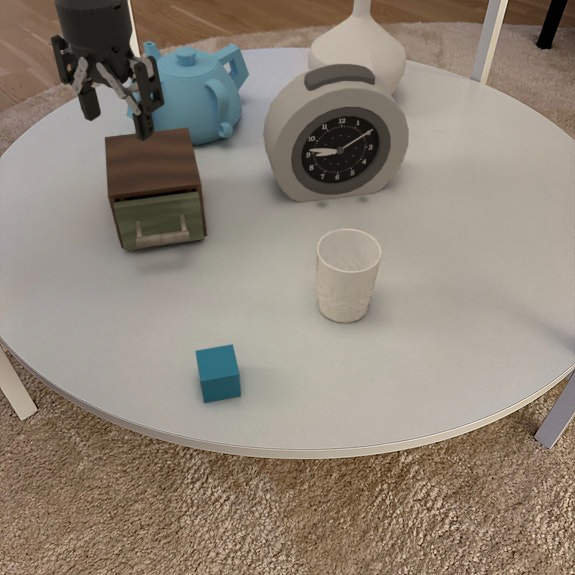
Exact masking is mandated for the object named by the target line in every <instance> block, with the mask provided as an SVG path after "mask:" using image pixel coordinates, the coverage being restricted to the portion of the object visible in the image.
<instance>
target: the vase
mask: <svg viewBox="0 0 575 575" xmlns="http://www.w3.org/2000/svg"><path fill="white" fill-rule="evenodd" d="M371 4H372V0H353V7H352V13H351V14H350V16H348V17H347V18H346V19H345V20H343V21H342V22H340V23H339V24H337V25H336V26H335V27H333V28H331V29H330V30H328V31H326V32H324V33H322V34H321V35H320V36H318V37H316V39H315V40H313V42H312V44H311V45H310V47H309V51H308V54H307V69H308V71H309V70H311V69H313V68H315V67H320V66H325V65H329V64H354V65H360V66H364V67H367V68H368V69H370V70H371V71H372V73H373V74H374V75H376V76H377V77H378V78H380V79H381V80H382V82H383V83H384V85H385V86H386V88H387V89H388V90H389V92H390V93H391V95H392V94H393V93H394V91H395V90H396V88H397V87H398V85H399V84H400V81H402V79H403V77H404V75H405V71H406V66H407V54H406V50H405V48H404V46H403V44H402V43H401V42H399V40H397V39H396V38H395V37H393V35H392V34H390V33H389V32H388V31H387V30H385V29H384V27H382V26H381V25H380V24H378V22H377V21H375V20H374V18H373V16H372V15H371Z"/></svg>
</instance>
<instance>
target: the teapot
mask: <svg viewBox="0 0 575 575" xmlns="http://www.w3.org/2000/svg"><path fill="white" fill-rule="evenodd" d="M142 46H143V51H144V54H145V58H146V57H148V56H150V55H151V56H153V57H154V58H155V59H156V62H157V67H158V72H159V77H160V82H161V87H162V92H163V97H164V102H165V103H164V105H163V106H162V107H160V108H158V109H157V110H155V111H154V112H153V113H152V118H153V124H154V131H162V130H170V129H179V128H189V132H190V136H191V141H192V145H193V146H194V145H195V146H196V145H203V144H207V143H210V142H214V141H217V140H219V139H221V138H222V139H228V138H231V137H232V136H233V134H234V127H235V125H236V124H237V123H238V122H239V121H240V117H241V116H242V110H243V109H242V101H241V96H240V94H239V91H240V89H241V88H242V86H243V85H244V83H245V82H246V80H247V78H249V76H250V73H249V70H248V67H247V65H246V62H245V58H244V56H243V54H242V51H241V48H240V47H238V46H237V45H235V44H234V43H230V44H228V45H226V46H224V47H222V48H221V49H219V50H217V51H215V52H214V53H210V52H207V51H204V50H201V49H197V48H195V47H192V46H181V47H178V48H176V49H175V50H174V51H171V52H168V53H166V54H162V53H161V51H160V50H159V49H158V47H157V44H156V43H154V42H153V41H151V40H150V41H146V42H143V43H142ZM226 64H228V65H229V68H230V71H229V72H228V70H227V69H226V68H225V67H224V66H225V65H226ZM131 85H132V81H131V80H130V81H129V86H131ZM133 96H134V97H135V99H136V100H137V102H139V101H141V99H140V98H139V96H138V95H137V93H136V92H133ZM151 98H153V94H152V93H151ZM132 113H134V112H133V111H132V109H131V108H130V107H129V105H128V104H127V110H126V117H128V118H129V119H131V120H133V116H132Z"/></svg>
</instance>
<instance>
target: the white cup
mask: <svg viewBox="0 0 575 575" xmlns="http://www.w3.org/2000/svg"><path fill="white" fill-rule="evenodd" d="M382 255H383V251H382V247H381V245H380V243H379V241H378V240H377V239H376V238H375V237H374V236H372V235H371V234H369V233H368V232H365V231H363V230H360V229H355V228H339V229H338V228H337V229H333V230H331V231H329V232H327V233H325V234H324V235H323V236H322V237H321V238H320V239H319V240H318V242H317V245H316V293H317V305H318V310H319V311H320V313H322V314H323V316H324V317H325V318H326V319H329V320H331V321H333V322H336V323H343V324H345V323H346V324H349V323H352V322H355V321H356V322H357V321H359V320H360V319H361V318H362V317H364V316H365V315H366V314H367V312H368V307H369V304H370V300H371V298H372V297H373V291H374V288H375V284H376V280H377V275H378V272H379V268H380V263H381V259H382Z"/></svg>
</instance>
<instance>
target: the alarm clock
mask: <svg viewBox="0 0 575 575" xmlns="http://www.w3.org/2000/svg"><path fill="white" fill-rule="evenodd" d="M406 118H407V117H406V115H405V114H404V111H403V110H402V108H401V107H400V106H399V104H398V103H397V101H396V99H395V98H394V97H393V95H392V94H391V93H390V92H389V90H388V89H387V88H386V86H385V85H384V83H383V82H382V80H381V79H380V78H378V77H377V76H376V75H374V74H373V73H372V71H371V70H370V69H368V68H367V67H364V66H360V65H354V64H329V65H325V66H320V67H315V68H313V69H311V70H309V69H308V70H307V71H305V72H302V73H301V74H299V75H297V76H296V77H295V78H294V79H292V80H291V81H290V82H288V83H287V84H286V85H285V86H284V87H282V88H281V90H280V91H279V92H278V94H277V95H276V97H275V98H274V99H273V101H272V102H271V104H270V106H269V108H268V111H267V113H266V116H265V118H264V124H263V131H262V137H263V144H264V149H265V153H266V155H267V159H268V162H269V165H270V168H271V171H272V174H273V177H274V179H275V180H276V182H277V185H278V186H279V189H280V190H281V191H283V192H284V193H285V195H287V197H289V198H290V199H291V200H292V201H295V202H296V203H305V202H313V201H314V202H315V201H321V200H329V199H335V198H336V199H337V198H345V197H353V196H359V195H361V196H362V195H367V194H375V193H378V192H379V191H380V190H382V189H383V188H384V187H385V186H386V185H387V184H388V183H389V182H390V181H391V180H392V178H394V177H395V176H396V174H397V172H398V170H399V169H400V167H401V165H402V164H403V162H404V160H405V157H406V153H407V151H408V148H409V139H410V138H409V136H410V129H409V126H408V125H409V124H408V122H407V119H406Z"/></svg>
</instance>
